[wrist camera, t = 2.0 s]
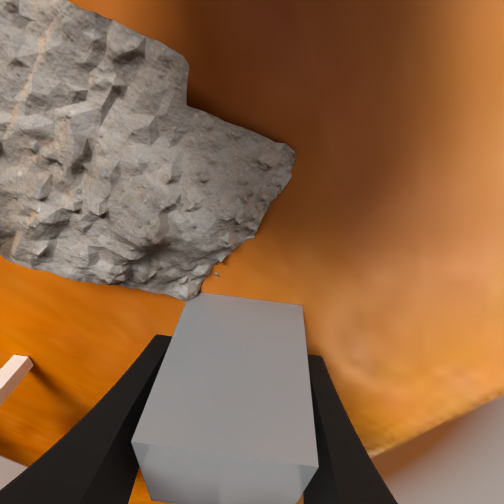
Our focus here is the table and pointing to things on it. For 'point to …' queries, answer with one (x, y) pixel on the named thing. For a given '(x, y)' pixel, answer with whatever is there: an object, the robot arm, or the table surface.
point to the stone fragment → (119, 157)
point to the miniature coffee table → (13, 374)
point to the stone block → (230, 407)
